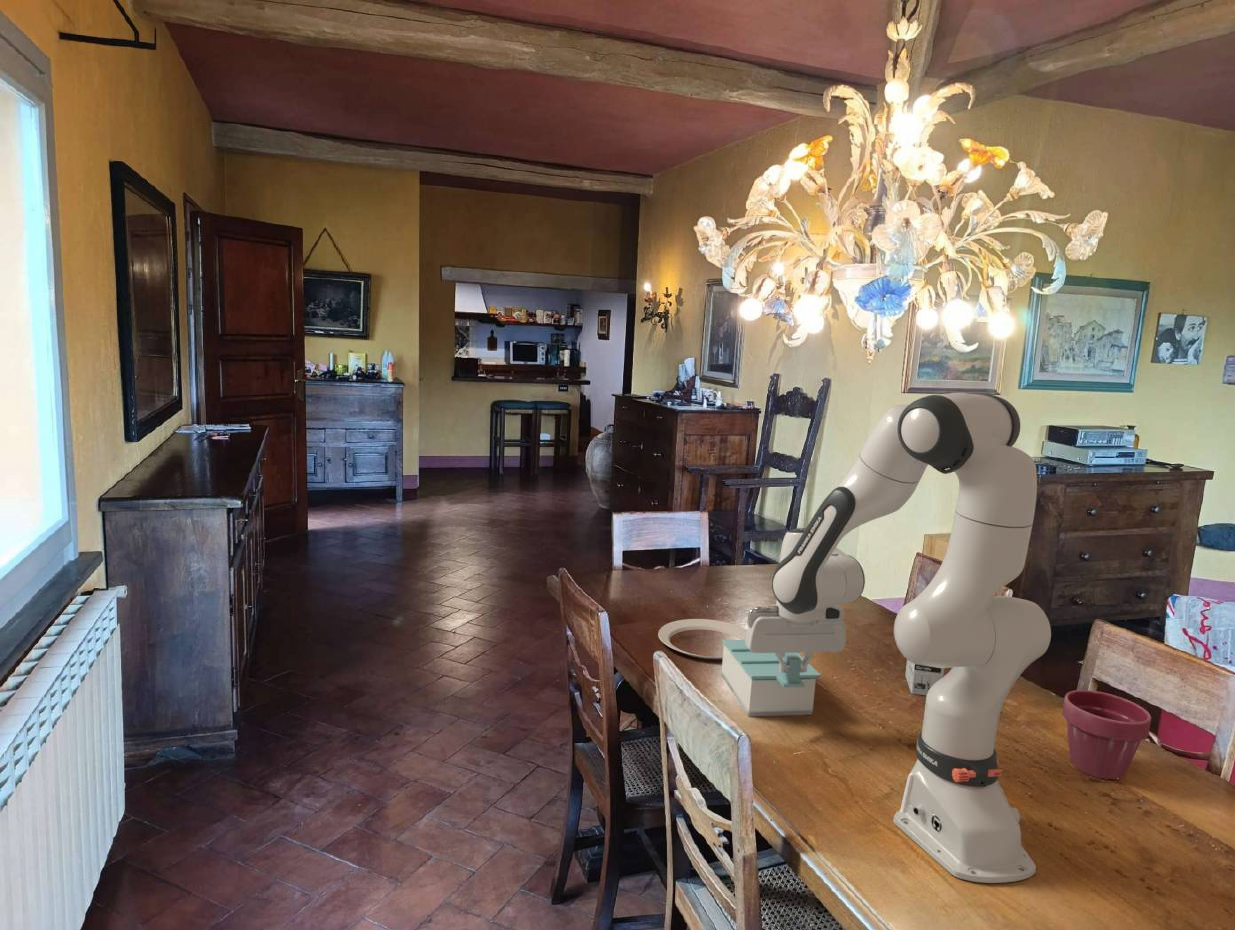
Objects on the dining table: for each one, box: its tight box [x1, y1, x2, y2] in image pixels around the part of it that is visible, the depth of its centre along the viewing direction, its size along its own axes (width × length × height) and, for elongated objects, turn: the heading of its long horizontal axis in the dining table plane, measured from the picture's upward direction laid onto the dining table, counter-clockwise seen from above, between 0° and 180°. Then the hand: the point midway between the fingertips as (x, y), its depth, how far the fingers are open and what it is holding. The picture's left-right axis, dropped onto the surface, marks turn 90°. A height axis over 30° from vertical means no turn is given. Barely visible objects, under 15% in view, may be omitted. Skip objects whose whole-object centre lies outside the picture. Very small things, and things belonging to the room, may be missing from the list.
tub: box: [720, 644, 817, 717], centre depth 180 cm, size 20×14×8 cm
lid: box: [721, 639, 822, 687], centre depth 176 cm, size 25×15×7 cm, turn 9°
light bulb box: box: [904, 659, 945, 697], centre depth 188 cm, size 11×7×11 cm, turn 168°
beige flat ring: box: [657, 618, 747, 660], centre depth 207 cm, size 26×26×2 cm
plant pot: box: [1062, 689, 1152, 780], centre depth 155 cm, size 14×14×13 cm
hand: (792, 671), depth 165 cm, fingers open, 2 cm apart
